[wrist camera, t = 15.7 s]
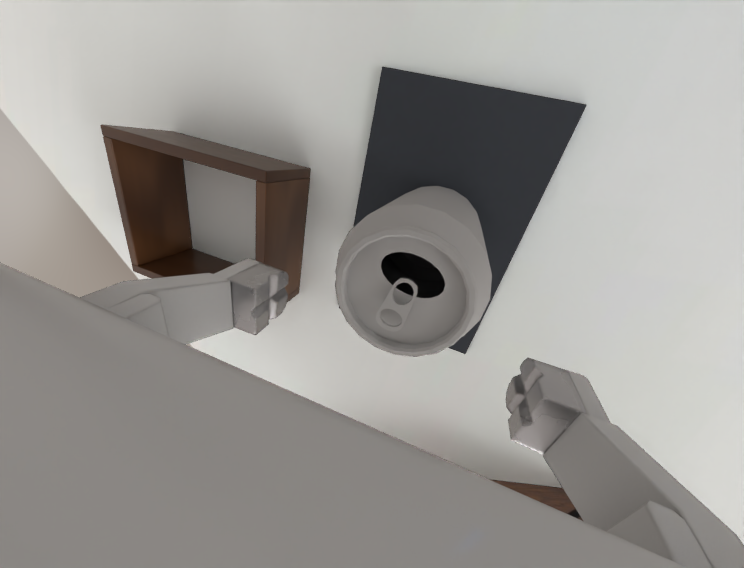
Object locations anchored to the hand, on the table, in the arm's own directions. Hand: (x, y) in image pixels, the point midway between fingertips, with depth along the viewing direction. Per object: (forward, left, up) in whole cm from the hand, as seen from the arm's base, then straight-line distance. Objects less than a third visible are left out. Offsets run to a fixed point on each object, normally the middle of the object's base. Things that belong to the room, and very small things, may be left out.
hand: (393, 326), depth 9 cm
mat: (0, 0, -15) cm, 15 cm away
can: (0, 0, -15) cm, 15 cm away
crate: (0, -19, -15) cm, 24 cm away
